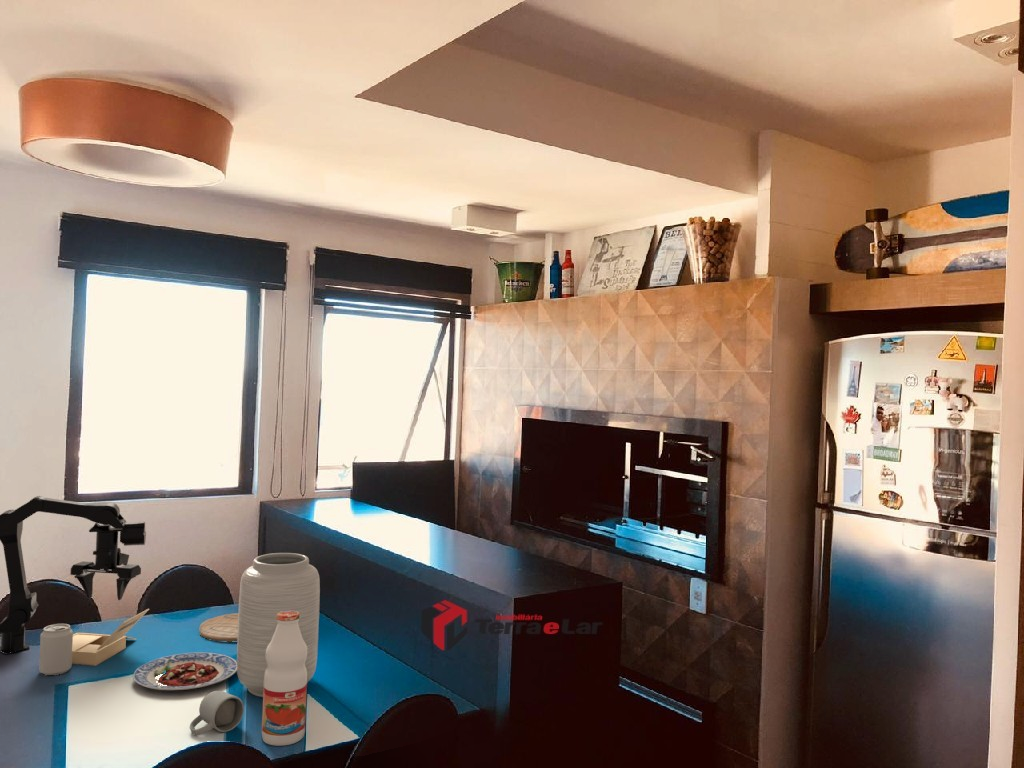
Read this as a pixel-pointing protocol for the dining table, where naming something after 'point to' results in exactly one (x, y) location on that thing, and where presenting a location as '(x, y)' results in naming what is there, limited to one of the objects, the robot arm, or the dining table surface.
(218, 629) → the trivet
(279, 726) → the fruit juice
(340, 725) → the dining table surface
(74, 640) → the carton
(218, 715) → the ceramic mug
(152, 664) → the ceramic plate
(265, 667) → the vase
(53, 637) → the can
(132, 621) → the flap
